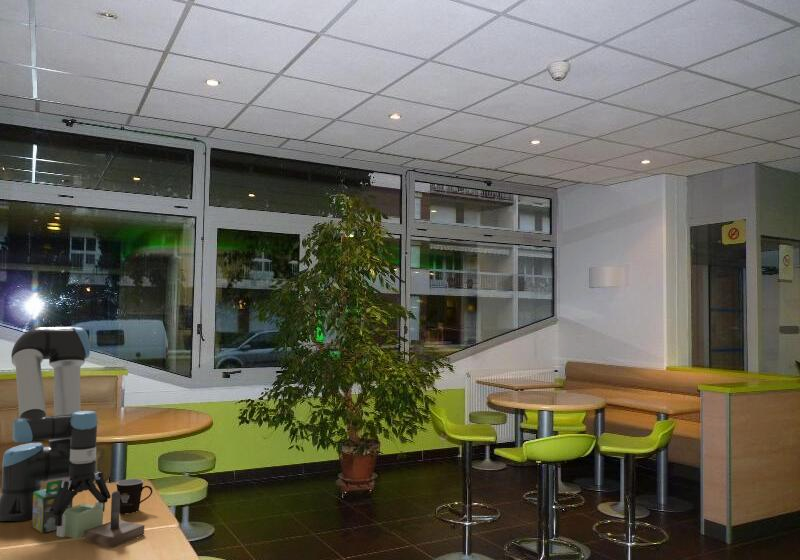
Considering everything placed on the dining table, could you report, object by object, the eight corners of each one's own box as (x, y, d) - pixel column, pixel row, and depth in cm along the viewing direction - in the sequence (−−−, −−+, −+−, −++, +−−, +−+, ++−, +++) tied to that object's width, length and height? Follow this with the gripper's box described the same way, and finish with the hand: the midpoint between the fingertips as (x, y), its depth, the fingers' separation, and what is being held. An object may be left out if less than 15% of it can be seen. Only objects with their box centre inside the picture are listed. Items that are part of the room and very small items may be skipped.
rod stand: (83, 541, 192) (85, 493, 193) (116, 529, 203) (118, 484, 204) (111, 547, 187) (113, 498, 188) (144, 535, 198) (145, 488, 199)
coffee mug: (109, 512, 220) (111, 483, 220) (130, 505, 227) (131, 477, 228) (133, 517, 214) (134, 487, 215) (153, 511, 222) (154, 481, 222)
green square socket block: (57, 534, 198) (58, 511, 198) (82, 525, 206) (83, 503, 206) (77, 538, 194) (78, 515, 194) (102, 529, 202) (103, 507, 203)
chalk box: (61, 520, 211) (62, 475, 212) (72, 526, 205) (74, 480, 206) (30, 527, 204) (32, 480, 205) (41, 534, 198) (43, 485, 199)
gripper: (54, 470, 188) (51, 543, 187) (123, 454, 211) (121, 519, 210) (37, 468, 192) (34, 539, 190) (107, 452, 214) (105, 516, 213)
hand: (80, 529), depth 200 cm, fingers open, 13 cm apart
